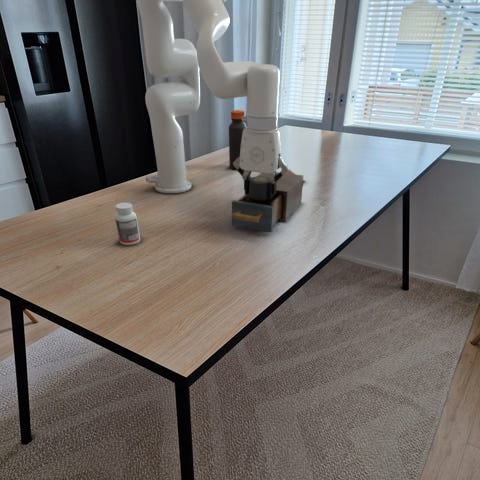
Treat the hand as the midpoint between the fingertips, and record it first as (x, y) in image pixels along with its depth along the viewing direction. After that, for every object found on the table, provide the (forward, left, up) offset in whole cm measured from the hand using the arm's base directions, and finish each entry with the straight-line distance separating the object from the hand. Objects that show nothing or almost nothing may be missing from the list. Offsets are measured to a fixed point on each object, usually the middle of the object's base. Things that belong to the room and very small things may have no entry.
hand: (259, 194), depth 111 cm
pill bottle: (-35, -10, -9) cm, 37 cm away
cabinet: (+5, +11, -9) cm, 15 cm away
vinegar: (-5, +55, -9) cm, 56 cm away
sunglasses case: (+10, +32, -9) cm, 34 cm away
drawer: (0, -1, -8) cm, 8 cm away
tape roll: (0, 0, -1) cm, 1 cm away
